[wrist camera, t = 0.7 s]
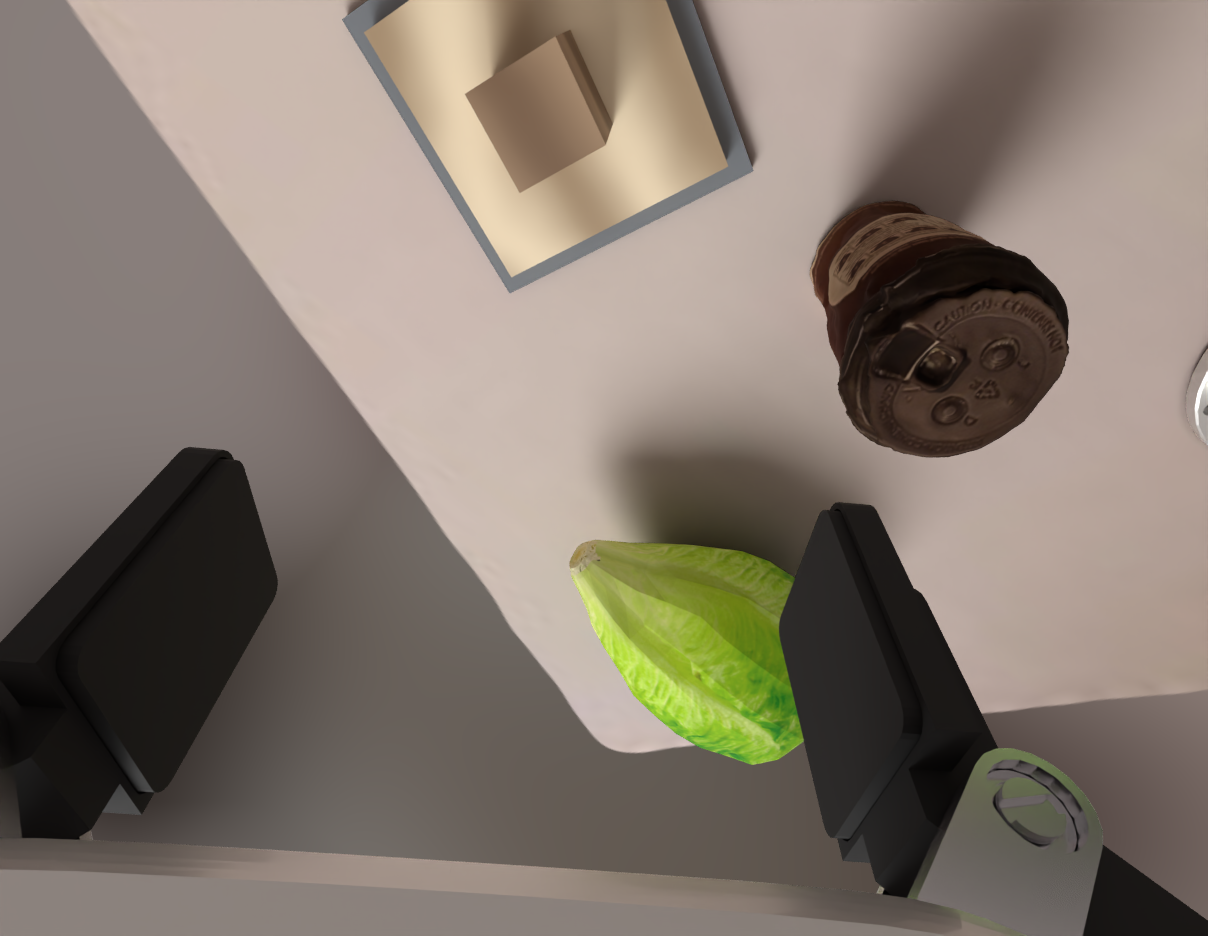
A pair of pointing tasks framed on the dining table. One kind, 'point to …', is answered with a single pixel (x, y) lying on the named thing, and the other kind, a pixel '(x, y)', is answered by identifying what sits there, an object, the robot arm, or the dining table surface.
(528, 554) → the dining table surface
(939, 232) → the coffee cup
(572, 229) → the lid
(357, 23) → the mat
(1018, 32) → the dining table surface
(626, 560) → the lettuce
